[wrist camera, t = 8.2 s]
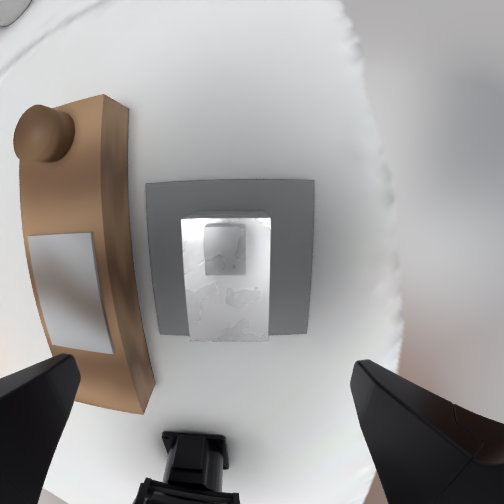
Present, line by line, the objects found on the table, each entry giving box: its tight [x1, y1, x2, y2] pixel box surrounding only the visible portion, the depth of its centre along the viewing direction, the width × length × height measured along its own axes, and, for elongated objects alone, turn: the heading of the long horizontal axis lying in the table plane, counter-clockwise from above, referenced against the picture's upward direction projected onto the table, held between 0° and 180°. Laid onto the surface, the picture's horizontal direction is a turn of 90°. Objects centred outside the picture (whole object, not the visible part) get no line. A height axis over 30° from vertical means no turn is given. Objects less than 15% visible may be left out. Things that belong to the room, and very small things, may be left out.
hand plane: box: [13, 94, 155, 415], centre depth 16 cm, size 22×7×6 cm, turn 0°
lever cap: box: [181, 210, 271, 341], centre depth 16 cm, size 7×4×5 cm, turn 0°
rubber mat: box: [146, 179, 314, 336], centre depth 19 cm, size 11×11×1 cm
